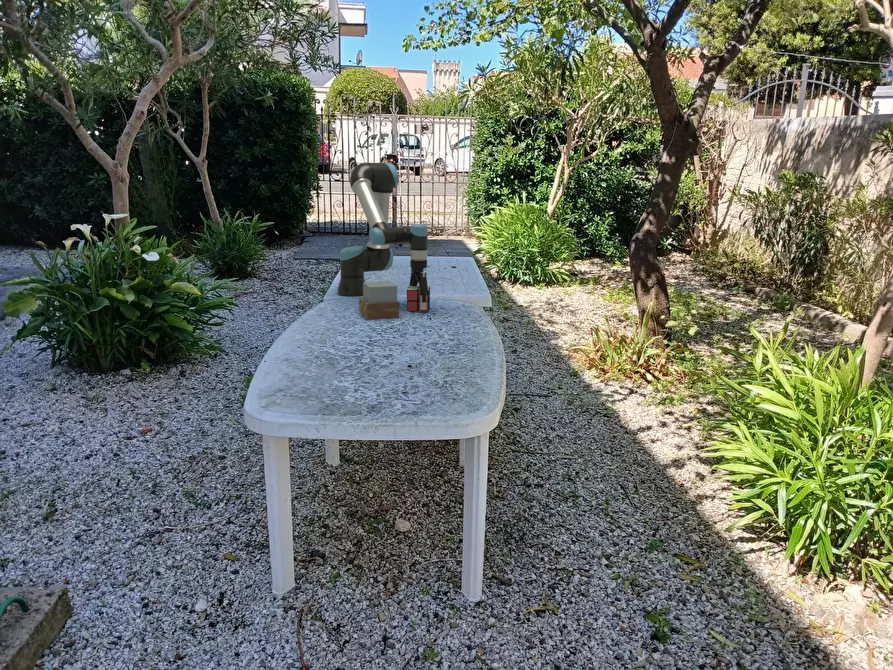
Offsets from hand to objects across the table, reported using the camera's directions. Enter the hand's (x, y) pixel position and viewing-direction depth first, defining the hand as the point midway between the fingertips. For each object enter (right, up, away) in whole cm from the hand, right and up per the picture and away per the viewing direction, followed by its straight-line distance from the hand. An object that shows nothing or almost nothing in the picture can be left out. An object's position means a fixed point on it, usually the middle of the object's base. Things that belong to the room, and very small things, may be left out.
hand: (418, 306), depth 289 cm
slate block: (-16, +2, -13) cm, 21 cm away
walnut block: (-17, -5, -11) cm, 21 cm away
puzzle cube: (0, -2, 0) cm, 2 cm away
